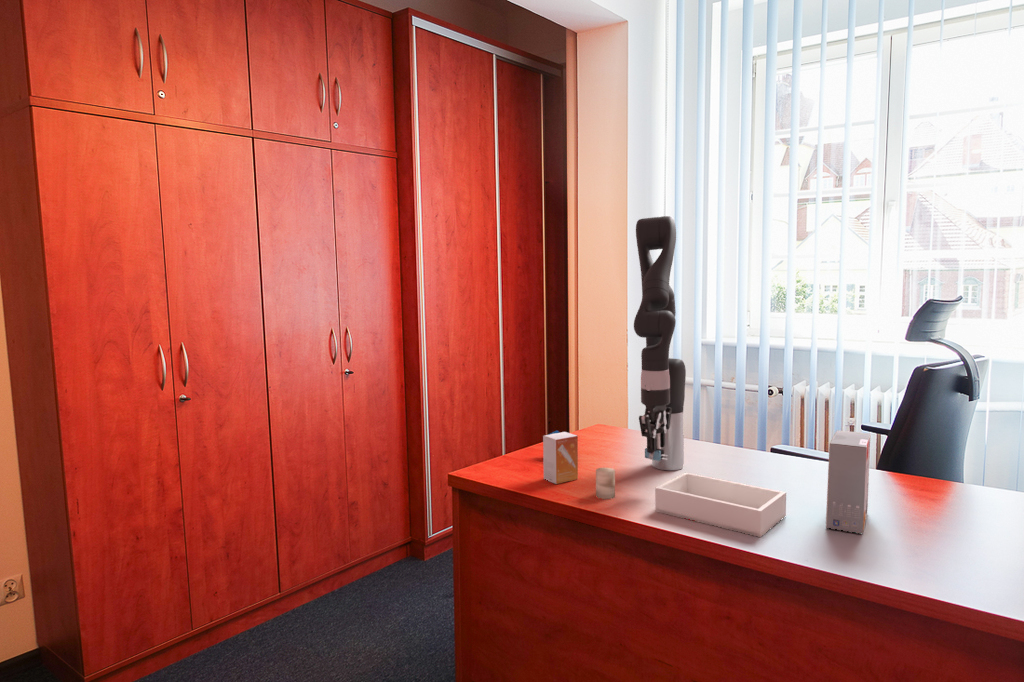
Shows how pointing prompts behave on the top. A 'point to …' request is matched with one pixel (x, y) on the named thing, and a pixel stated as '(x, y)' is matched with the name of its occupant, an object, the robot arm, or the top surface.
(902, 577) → the top surface
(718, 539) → the top surface
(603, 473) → the maple cylinder
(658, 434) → the push button
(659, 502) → the tote
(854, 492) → the hard drive box
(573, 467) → the small box
